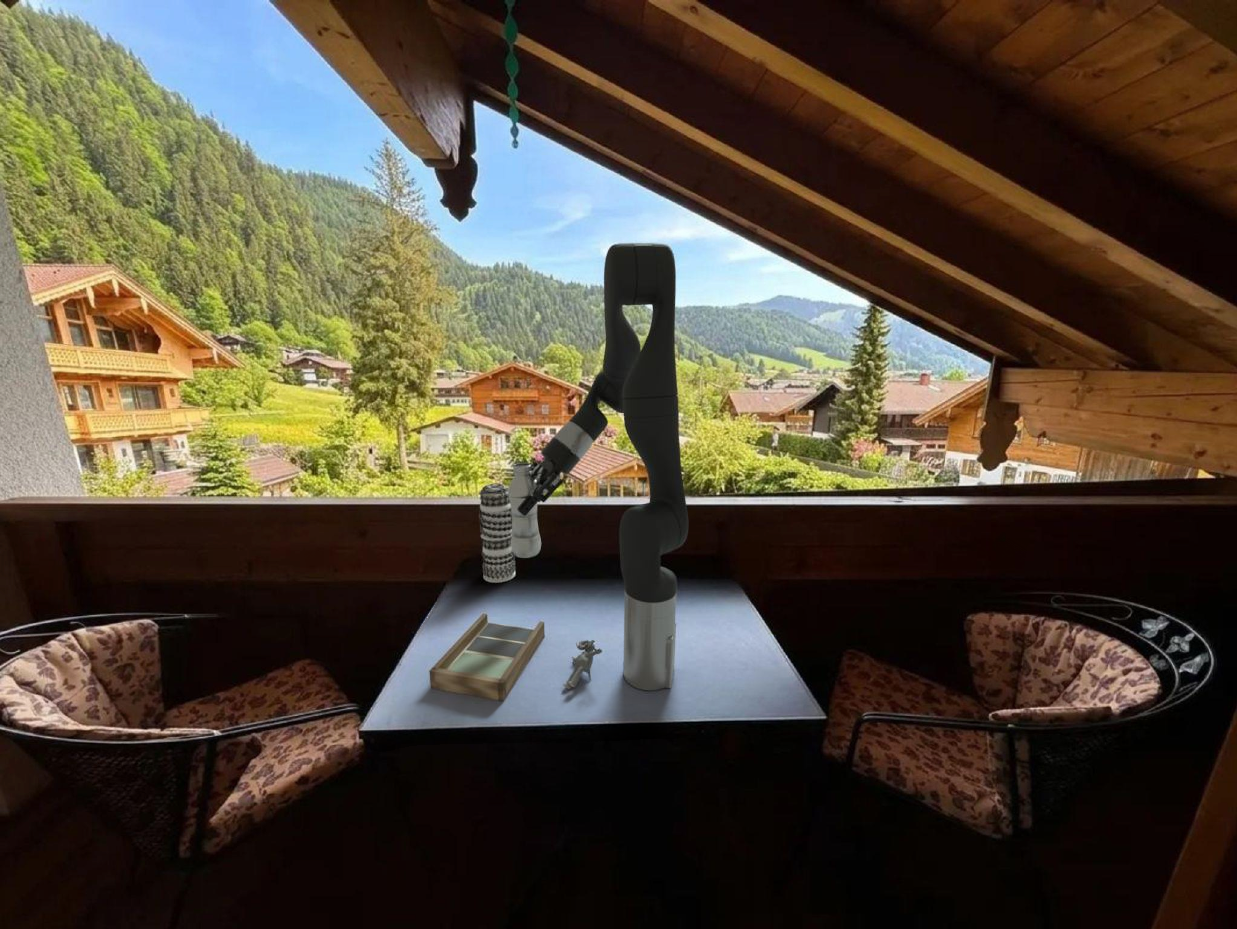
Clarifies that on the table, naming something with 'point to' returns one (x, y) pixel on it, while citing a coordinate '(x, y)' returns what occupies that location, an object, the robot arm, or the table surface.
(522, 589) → the table surface
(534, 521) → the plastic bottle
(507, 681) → the box
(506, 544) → the decorative candle
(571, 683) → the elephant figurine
